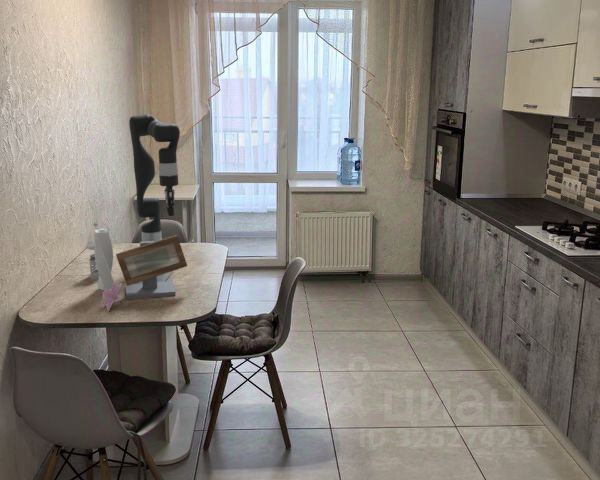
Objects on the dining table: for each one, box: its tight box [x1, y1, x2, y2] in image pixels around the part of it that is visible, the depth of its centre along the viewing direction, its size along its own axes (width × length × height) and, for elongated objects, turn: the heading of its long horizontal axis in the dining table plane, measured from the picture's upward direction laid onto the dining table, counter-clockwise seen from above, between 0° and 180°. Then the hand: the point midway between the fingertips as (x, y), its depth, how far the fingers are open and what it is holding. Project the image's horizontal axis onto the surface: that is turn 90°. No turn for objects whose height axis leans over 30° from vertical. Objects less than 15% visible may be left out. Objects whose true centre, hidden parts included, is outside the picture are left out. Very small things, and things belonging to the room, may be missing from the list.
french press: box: [87, 222, 99, 280], centre depth 294 cm, size 10×12×25 cm
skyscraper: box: [93, 225, 114, 291], centre depth 273 cm, size 8×8×28 cm
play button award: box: [135, 271, 174, 284], centre depth 292 cm, size 16×2×20 cm
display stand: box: [125, 241, 176, 300], centre depth 270 cm, size 16×20×22 cm
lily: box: [101, 282, 124, 313], centre depth 253 cm, size 12×12×10 cm
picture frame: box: [115, 234, 188, 286], centre depth 267 cm, size 2×26×14 cm, turn 105°
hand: (170, 214), depth 265 cm, fingers open, 5 cm apart
